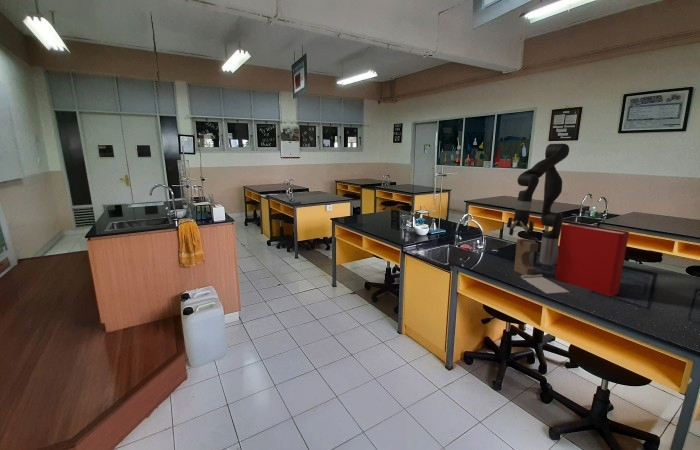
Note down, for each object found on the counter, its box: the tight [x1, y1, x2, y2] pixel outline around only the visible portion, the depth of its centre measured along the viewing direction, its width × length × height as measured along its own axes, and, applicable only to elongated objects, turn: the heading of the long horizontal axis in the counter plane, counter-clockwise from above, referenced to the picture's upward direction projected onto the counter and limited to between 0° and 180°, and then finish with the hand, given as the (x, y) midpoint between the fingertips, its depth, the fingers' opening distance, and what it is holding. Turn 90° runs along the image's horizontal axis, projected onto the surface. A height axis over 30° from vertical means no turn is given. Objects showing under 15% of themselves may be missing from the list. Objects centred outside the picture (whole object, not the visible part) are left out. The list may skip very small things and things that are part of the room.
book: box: [554, 222, 630, 297], centre depth 169 cm, size 27×8×32 cm, turn 30°
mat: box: [520, 273, 570, 295], centre depth 174 cm, size 12×22×2 cm, turn 6°
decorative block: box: [513, 238, 539, 275], centre depth 189 cm, size 11×6×20 cm, turn 12°
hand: (518, 236), depth 185 cm, fingers open, 8 cm apart
